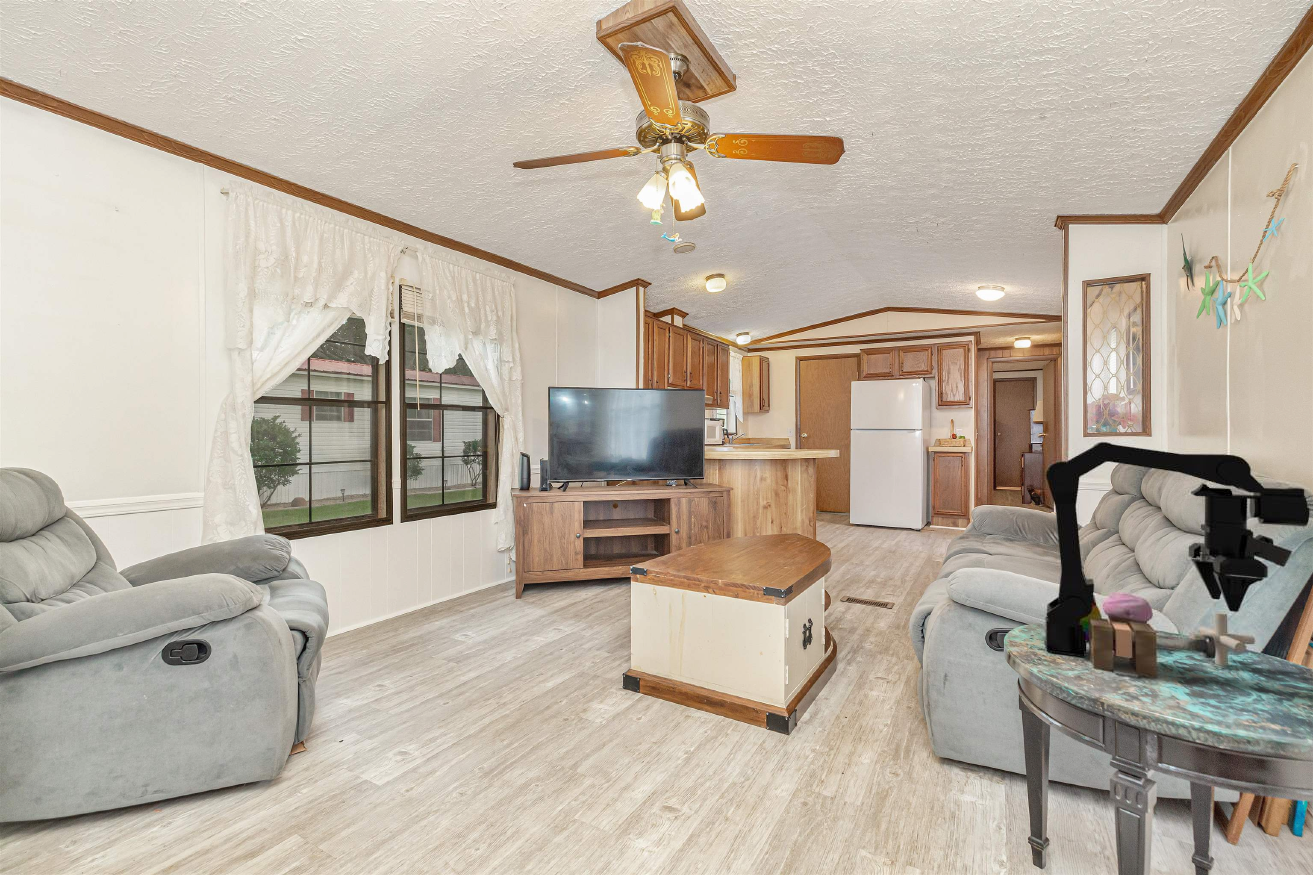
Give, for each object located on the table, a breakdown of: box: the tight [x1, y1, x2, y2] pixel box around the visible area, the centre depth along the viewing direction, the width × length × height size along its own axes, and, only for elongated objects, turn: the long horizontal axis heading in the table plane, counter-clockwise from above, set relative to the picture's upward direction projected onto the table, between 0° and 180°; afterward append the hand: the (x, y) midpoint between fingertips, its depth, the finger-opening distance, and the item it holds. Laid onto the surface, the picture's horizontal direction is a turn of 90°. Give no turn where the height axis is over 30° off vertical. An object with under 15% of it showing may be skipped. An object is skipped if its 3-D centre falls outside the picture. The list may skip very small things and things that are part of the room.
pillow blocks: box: [1088, 617, 1158, 678], centre depth 115 cm, size 10×6×8 cm, turn 61°
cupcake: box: [1102, 592, 1154, 626], centre depth 131 cm, size 9×9×10 cm
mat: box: [1112, 656, 1139, 679], centre depth 115 cm, size 3×10×1 cm, turn 151°
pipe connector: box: [1188, 611, 1256, 667], centre depth 116 cm, size 10×10×10 cm
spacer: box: [1111, 622, 1132, 659], centre depth 115 cm, size 2×5×5 cm, turn 150°
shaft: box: [1113, 629, 1216, 660], centre depth 113 cm, size 17×4×4 cm, turn 61°
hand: (1224, 605), depth 111 cm, fingers open, 9 cm apart
